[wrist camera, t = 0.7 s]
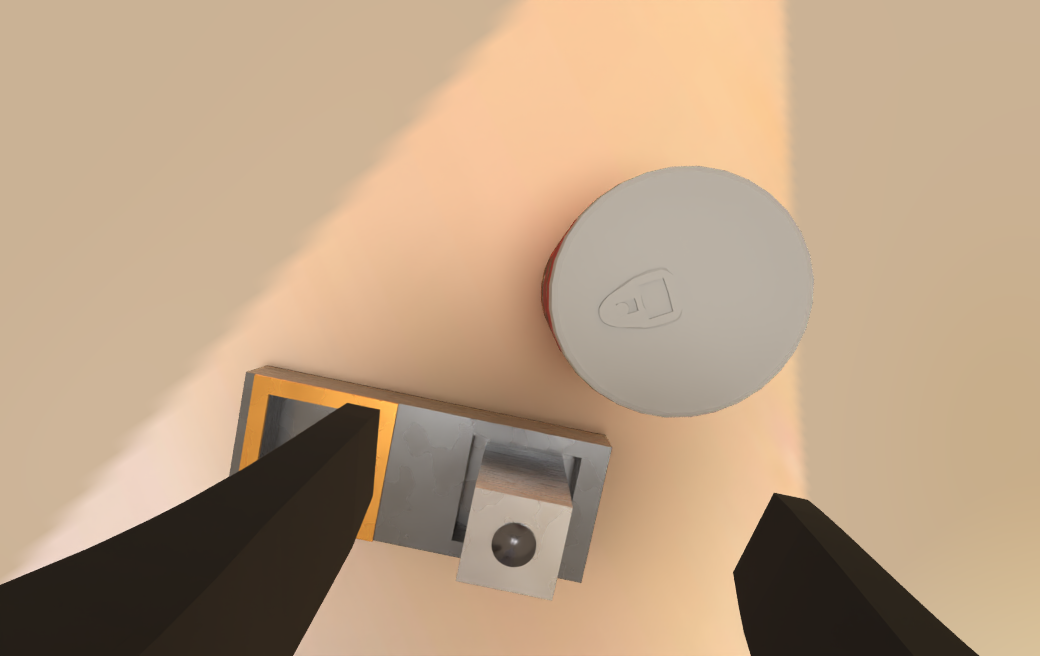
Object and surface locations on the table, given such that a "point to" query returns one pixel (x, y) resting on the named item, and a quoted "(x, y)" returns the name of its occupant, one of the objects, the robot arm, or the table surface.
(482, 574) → the silver square slider
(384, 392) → the rail
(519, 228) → the table surface
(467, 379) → the table surface
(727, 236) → the canned food
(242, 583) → the robot arm
